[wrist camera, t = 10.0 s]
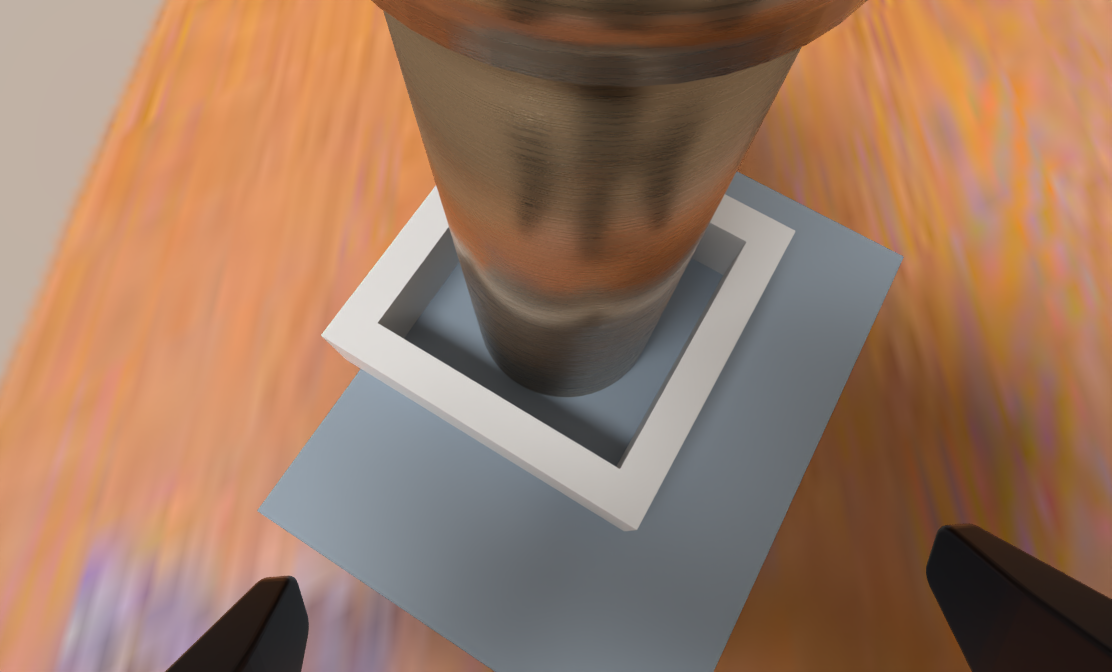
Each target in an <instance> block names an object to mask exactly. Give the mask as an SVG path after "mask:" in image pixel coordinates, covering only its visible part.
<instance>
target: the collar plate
mask: <svg viewBox="0 0 1112 672" xmlns="http://www.w3.org/2000/svg"><path fill="white" fill-rule="evenodd" d="M903 258H904V257H903V256H902V255H900V254H898V253H896V252H894V251H892V250H890V249H888V248H886V247H884V246H882V245H880V244H878V243H876V242H874V241H872V240H870V239H868V238H866V237H864V236H862V235H860V234H858V233H857V232H855V231H853V230H851V229H849V228H847V227H845V226H843V225H841V224H839V223H837V222H835V221H833V220H831V219H829V218H827V217H825V216H823V215H821V214H819V213H817V212H815V211H813V210H812V209H810V208H808V207H806V206H804V205H802V204H800V203H798V202H796V201H794V200H792V199H790V198H788V197H786V196H784V195H782V194H780V193H778V192H776V191H774V190H772V189H770V188H768V187H767V186H765V185H763V184H761V183H759V182H757V181H755V180H753V179H751V178H749V177H747V176H745V175H743V174H741V173H739V172H736V173H735V175H734V177H733V179H732V181H731V183H730V185H729V187H728V189H727V191H726V193H725V195H724V196H723V198H722V200H721V202H720V204H719V206H718V208H717V210H716V212H715V214H714V216H713V217H712V219H711V221H710V223H709V225H708V227H707V229H706V231H705V233H704V235H703V237H702V239H701V240H700V242H699V244H698V246H697V248H696V250H695V252H694V254H693V256H692V258H691V260H690V262H689V263H688V265H687V267H686V269H685V271H684V273H683V275H682V277H681V279H680V281H679V283H678V284H677V286H676V288H675V290H674V292H673V294H672V296H671V298H670V300H669V302H668V304H667V306H666V307H665V309H664V311H663V313H662V315H661V317H660V319H659V321H658V323H657V325H656V327H655V329H654V330H653V332H652V334H651V336H650V338H649V340H648V342H647V344H646V346H645V348H644V350H643V351H642V353H641V355H640V357H639V358H638V360H637V362H636V363H635V364H634V365H633V367H632V368H631V369H630V370H629V371H628V372H627V373H626V374H625V375H624V376H623V377H622V378H621V379H619V380H618V381H616V382H615V383H614V384H612V385H610V386H608V387H606V388H605V389H603V390H600V391H597V392H595V393H592V394H588V395H584V396H578V397H554V396H548V395H543V394H540V393H537V392H534V391H531V390H529V389H527V388H525V387H523V386H521V385H520V384H518V383H516V382H515V381H513V380H512V379H511V378H510V377H508V376H507V375H506V374H505V373H504V372H503V371H502V370H501V369H500V368H499V367H498V366H497V364H496V363H495V362H494V360H493V359H492V357H491V356H490V354H489V352H488V350H487V348H486V346H485V343H484V340H483V338H482V334H481V331H480V328H479V325H478V321H477V318H476V315H475V311H474V308H473V305H472V301H471V298H470V295H469V292H468V288H467V285H466V282H465V278H464V275H463V272H462V268H461V265H460V262H459V259H458V255H457V252H456V249H455V245H454V242H453V239H452V236H451V232H450V229H449V226H448V222H447V219H446V216H445V212H444V209H443V206H442V203H441V199H440V196H439V193H438V189H437V186H435V187H434V189H433V190H432V191H431V193H430V194H429V195H428V196H427V198H426V199H425V200H424V202H423V203H422V204H421V206H420V207H419V208H418V210H417V211H416V212H415V213H414V215H413V216H412V217H411V219H410V220H409V221H408V223H407V224H406V225H405V226H404V228H403V229H402V230H401V232H400V233H399V234H398V236H397V237H396V238H395V239H394V241H393V242H392V243H391V245H390V246H389V247H388V249H387V250H386V251H385V253H384V254H383V255H382V256H381V258H380V259H379V260H378V262H377V263H376V264H375V266H374V267H373V268H372V269H371V271H370V272H369V273H368V275H367V276H366V277H365V279H364V280H363V281H362V282H361V284H360V285H359V286H358V288H357V289H356V290H355V292H354V293H353V294H352V296H351V297H350V298H349V299H348V301H347V302H346V303H345V305H344V306H343V307H342V309H341V310H340V311H339V312H338V314H337V315H336V316H335V318H334V319H333V320H332V322H331V323H330V324H329V325H328V327H327V328H326V329H325V331H324V332H323V333H322V335H321V336H322V337H323V338H324V339H325V340H326V341H327V342H328V343H329V344H330V345H331V346H333V347H334V348H335V349H336V350H337V351H338V352H339V353H340V354H341V355H342V356H343V357H344V358H345V359H346V360H348V361H349V362H351V363H352V364H354V365H356V366H357V367H359V368H361V369H360V371H359V372H358V374H357V375H356V376H355V378H354V379H353V380H352V382H351V383H350V385H349V386H348V387H347V389H346V390H345V391H344V393H343V394H342V395H341V397H340V398H339V400H338V401H337V402H336V404H335V405H334V406H333V408H332V409H331V411H330V412H329V413H328V415H327V416H326V417H325V419H324V420H323V421H322V423H321V424H320V426H319V427H318V428H317V430H316V431H315V432H314V434H313V435H312V437H311V438H310V439H309V441H308V442H307V443H306V445H305V446H304V447H303V449H302V450H301V452H300V453H299V454H298V456H297V457H296V458H295V460H294V461H293V462H292V464H291V465H290V467H289V468H288V469H287V471H286V472H285V473H284V475H283V476H282V478H281V479H280V480H279V482H278V483H277V484H276V486H275V487H274V488H273V490H272V491H271V493H270V494H269V495H268V497H267V498H266V499H265V501H264V502H263V504H262V505H261V506H260V508H259V509H258V510H257V511H258V512H260V513H261V514H263V515H264V516H265V517H267V518H268V519H270V520H271V521H273V522H274V523H276V524H277V525H279V526H280V527H282V528H283V529H285V530H286V531H288V532H289V533H291V534H292V535H294V536H295V537H297V538H298V539H300V540H301V541H302V542H304V543H305V544H307V545H308V546H310V547H311V548H313V549H314V550H316V551H317V552H319V553H320V554H322V555H323V556H325V557H326V558H328V559H329V560H331V561H332V562H334V563H335V564H336V565H338V566H339V567H341V568H342V569H344V570H345V571H347V572H348V573H350V574H351V575H353V576H354V577H356V578H357V579H359V580H360V581H362V582H363V583H365V584H366V585H368V586H369V587H371V588H372V589H373V590H375V591H376V592H378V593H379V594H381V595H382V596H384V597H385V598H387V599H388V600H390V601H391V602H393V603H394V604H396V605H397V606H399V607H400V608H402V609H403V610H405V611H406V612H407V613H409V614H410V615H412V616H413V617H415V618H416V619H418V620H419V621H421V622H422V623H424V624H425V625H427V626H428V627H430V628H431V629H433V630H434V631H436V632H437V633H439V634H440V635H441V636H443V637H444V638H446V639H447V640H449V641H450V642H452V643H453V644H455V645H456V646H458V647H459V648H461V649H462V650H464V651H465V652H467V653H468V654H470V655H471V656H473V657H474V658H476V659H477V660H478V661H480V662H481V663H483V664H484V665H486V666H487V667H489V668H490V669H492V670H493V671H495V672H714V670H715V667H716V665H717V663H718V661H719V659H720V657H721V654H722V652H723V650H724V648H725V646H726V643H727V641H728V639H729V637H730V635H731V633H732V630H733V628H734V626H735V624H736V622H737V619H738V617H739V615H740V613H741V611H742V609H743V606H744V604H745V602H746V600H747V598H748V595H749V593H750V591H751V589H752V587H753V585H754V582H755V580H756V578H757V576H758V574H759V572H760V569H761V567H762V565H763V563H764V561H765V558H766V556H767V554H768V552H769V550H770V548H771V545H772V543H773V541H774V539H775V537H776V534H777V532H778V530H779V528H780V526H781V524H782V521H783V519H784V517H785V515H786V513H787V510H788V508H789V506H790V504H791V502H792V500H793V497H794V495H795V493H796V491H797V489H798V486H799V484H800V482H801V480H802V478H803V476H804V473H805V471H806V469H807V467H808V465H809V463H810V460H811V458H812V456H813V454H814V452H815V449H816V447H817V445H818V443H819V441H820V439H821V436H822V434H823V432H824V430H825V428H826V425H827V423H828V421H829V419H830V417H831V415H832V412H833V410H834V408H835V406H836V404H837V401H838V399H839V397H840V395H841V393H842V391H843V388H844V386H845V384H846V382H847V380H848V377H849V375H850V373H851V371H852V369H853V367H854V364H855V362H856V360H857V358H858V356H859V353H860V351H861V349H862V347H863V345H864V343H865V340H866V338H867V336H868V334H869V332H870V330H871V327H872V325H873V323H874V321H875V319H876V316H877V314H878V312H879V310H880V308H881V306H882V303H883V301H884V299H885V297H886V295H887V292H888V290H889V288H890V286H891V284H892V282H893V279H894V277H895V275H896V273H897V271H898V268H899V266H900V264H901V262H902V260H903Z"/></svg>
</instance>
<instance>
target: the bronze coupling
mask: <svg viewBox="0 0 1112 672" xmlns="http://www.w3.org/2000/svg"><path fill="white" fill-rule="evenodd" d="M372 1H373V2H374V3H375V4H376V5H377V6H378V7H380V8H381V9H382V10H383V11H384V15H385V18H386V21H387V24H388V28H389V31H390V34H391V38H392V41H393V44H394V47H395V51H396V54H397V57H398V61H399V64H400V67H401V71H402V74H403V77H404V80H405V84H406V87H407V90H408V94H409V97H410V100H411V104H412V107H413V110H414V113H415V117H416V120H417V123H418V127H419V130H420V133H421V137H422V140H423V143H424V146H425V150H426V153H427V156H428V160H429V163H430V166H431V170H432V173H433V176H434V179H435V183H436V186H437V189H438V193H439V196H440V199H441V203H442V206H443V209H444V212H445V216H446V219H447V222H448V226H449V229H450V232H451V236H452V239H453V242H454V245H455V249H456V252H457V255H458V259H459V262H460V265H461V268H462V272H463V275H464V278H465V282H466V285H467V288H468V292H469V295H470V298H471V301H472V305H473V308H474V311H475V315H476V318H477V321H478V325H479V328H480V331H481V334H482V338H483V340H484V343H485V346H486V348H487V350H488V352H489V354H490V356H491V357H492V359H493V360H494V362H495V363H496V364H497V366H498V367H499V368H500V369H501V370H502V371H503V372H504V373H505V374H506V375H507V376H508V377H510V378H511V379H512V380H513V381H515V382H516V383H518V384H520V385H521V386H523V387H525V388H527V389H529V390H531V391H534V392H537V393H540V394H543V395H548V396H554V397H578V396H584V395H588V394H592V393H595V392H597V391H600V390H603V389H605V388H606V387H608V386H610V385H612V384H614V383H615V382H616V381H618V380H619V379H621V378H622V377H623V376H624V375H625V374H626V373H627V372H628V371H629V370H630V369H631V368H632V367H633V365H634V364H635V363H636V362H637V360H638V358H639V357H640V355H641V353H642V351H643V350H644V348H645V346H646V344H647V342H648V340H649V338H650V336H651V334H652V332H653V330H654V329H655V327H656V325H657V323H658V321H659V319H660V317H661V315H662V313H663V311H664V309H665V307H666V306H667V304H668V302H669V300H670V298H671V296H672V294H673V292H674V290H675V288H676V286H677V284H678V283H679V281H680V279H681V277H682V275H683V273H684V271H685V269H686V267H687V265H688V263H689V262H690V260H691V258H692V256H693V254H694V252H695V250H696V248H697V246H698V244H699V242H700V240H701V239H702V237H703V235H704V233H705V231H706V229H707V227H708V225H709V223H710V221H711V219H712V217H713V216H714V214H715V212H716V210H717V208H718V206H719V204H720V202H721V200H722V198H723V196H724V195H725V193H726V191H727V189H728V187H729V185H730V183H731V181H732V179H733V177H734V175H735V173H736V172H737V170H738V168H739V166H740V164H741V162H742V160H743V158H744V156H745V154H746V152H747V150H748V149H749V147H750V145H751V143H752V141H753V139H754V137H755V135H756V133H757V131H758V129H759V128H760V126H761V124H762V122H763V120H764V118H765V116H766V114H767V112H768V110H769V108H770V106H771V105H772V103H773V101H774V99H775V97H776V95H777V93H778V91H779V89H780V87H781V85H782V84H783V82H784V80H785V78H786V76H787V74H788V72H789V70H790V68H791V66H792V64H793V62H794V61H795V59H796V57H797V55H798V53H799V51H800V49H801V47H802V46H805V45H807V44H808V43H810V42H812V41H813V40H815V39H816V38H818V37H820V36H821V35H823V34H824V33H826V32H827V31H829V30H831V29H832V28H834V27H835V26H837V25H839V24H840V23H841V22H843V21H844V20H845V19H846V18H847V17H848V16H850V15H851V14H852V13H853V12H854V11H855V10H857V9H858V8H859V7H860V6H861V5H862V4H864V3H865V2H866V1H867V0H372Z"/></svg>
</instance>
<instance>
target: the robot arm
mask: <svg viewBox="0 0 1112 672" xmlns="http://www.w3.org/2000/svg"><path fill="white" fill-rule="evenodd" d="M926 575H927V580H928V583H929V585H930V588H931V590H932V592H933V594H934V596H935V598H936V600H937V602H938V604H939V606H940V608H941V610H942V612H943V614H944V616H945V618H946V620H947V622H948V624H949V626H950V628H951V630H952V632H953V634H954V636H955V638H956V640H957V642H958V644H959V646H960V648H961V650H962V652H963V654H964V656H965V658H966V661H967V663H968V665H969V667H970V669H971V671H972V672H1112V599H1110V598H1108V597H1107V596H1105V595H1103V594H1101V593H1099V592H1097V591H1096V590H1094V589H1092V588H1090V587H1088V586H1086V585H1085V584H1083V583H1081V582H1079V581H1077V580H1075V579H1074V578H1072V577H1070V576H1068V575H1066V574H1064V573H1063V572H1061V571H1059V570H1057V569H1055V568H1053V567H1051V566H1050V565H1048V564H1046V563H1044V562H1042V561H1040V560H1039V559H1037V558H1035V557H1033V556H1031V555H1029V554H1028V553H1026V552H1024V551H1022V550H1020V549H1018V548H1017V547H1015V546H1013V545H1011V544H1009V543H1007V542H1006V541H1004V540H1002V539H1000V538H998V537H996V536H994V535H993V534H991V533H989V532H987V531H985V530H983V529H982V528H980V527H978V526H976V525H973V524H955V525H945V526H942V527H941V528H940V529H939V530H938V532H937V534H936V537H935V541H934V544H933V547H932V550H931V553H930V556H929V559H928V562H927V566H926ZM308 629H309V622H308V616H307V612H306V609H305V606H304V602H303V599H302V596H301V592H300V589H299V586H298V583H297V581H296V579H295V578H294V577H292V576H280V577H267V578H264V579H262V580H260V581H258V582H257V583H256V584H255V585H254V586H253V587H252V588H251V589H250V590H249V591H248V592H247V593H246V594H245V595H244V596H243V597H242V598H241V599H240V600H239V601H238V602H236V603H235V604H234V605H233V606H232V607H231V608H230V609H229V610H228V611H227V612H226V613H225V614H224V615H223V616H222V617H221V618H220V619H219V620H218V621H217V622H216V623H215V624H214V625H213V626H212V627H211V628H210V629H209V630H208V631H207V632H206V633H204V634H203V635H202V636H201V637H200V638H199V639H198V640H197V641H196V642H195V643H194V644H193V645H192V646H191V647H190V648H189V649H188V650H187V651H186V652H185V653H184V654H183V655H182V656H181V657H180V658H179V659H178V660H177V661H176V662H175V663H173V664H172V665H171V666H170V667H169V668H168V669H167V670H166V671H165V672H301V669H302V664H303V659H304V653H305V648H306V643H307V638H308Z"/></svg>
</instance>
